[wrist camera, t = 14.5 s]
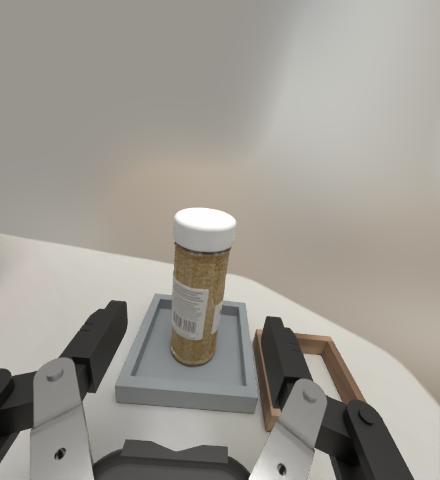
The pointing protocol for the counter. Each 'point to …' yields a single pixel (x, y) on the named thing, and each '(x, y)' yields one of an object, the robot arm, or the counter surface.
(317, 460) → the counter surface
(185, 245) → the sprinkles bottle
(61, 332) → the counter surface
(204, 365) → the slate tray
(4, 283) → the counter surface
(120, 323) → the robot arm
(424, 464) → the counter surface
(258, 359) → the wooden picture frame
